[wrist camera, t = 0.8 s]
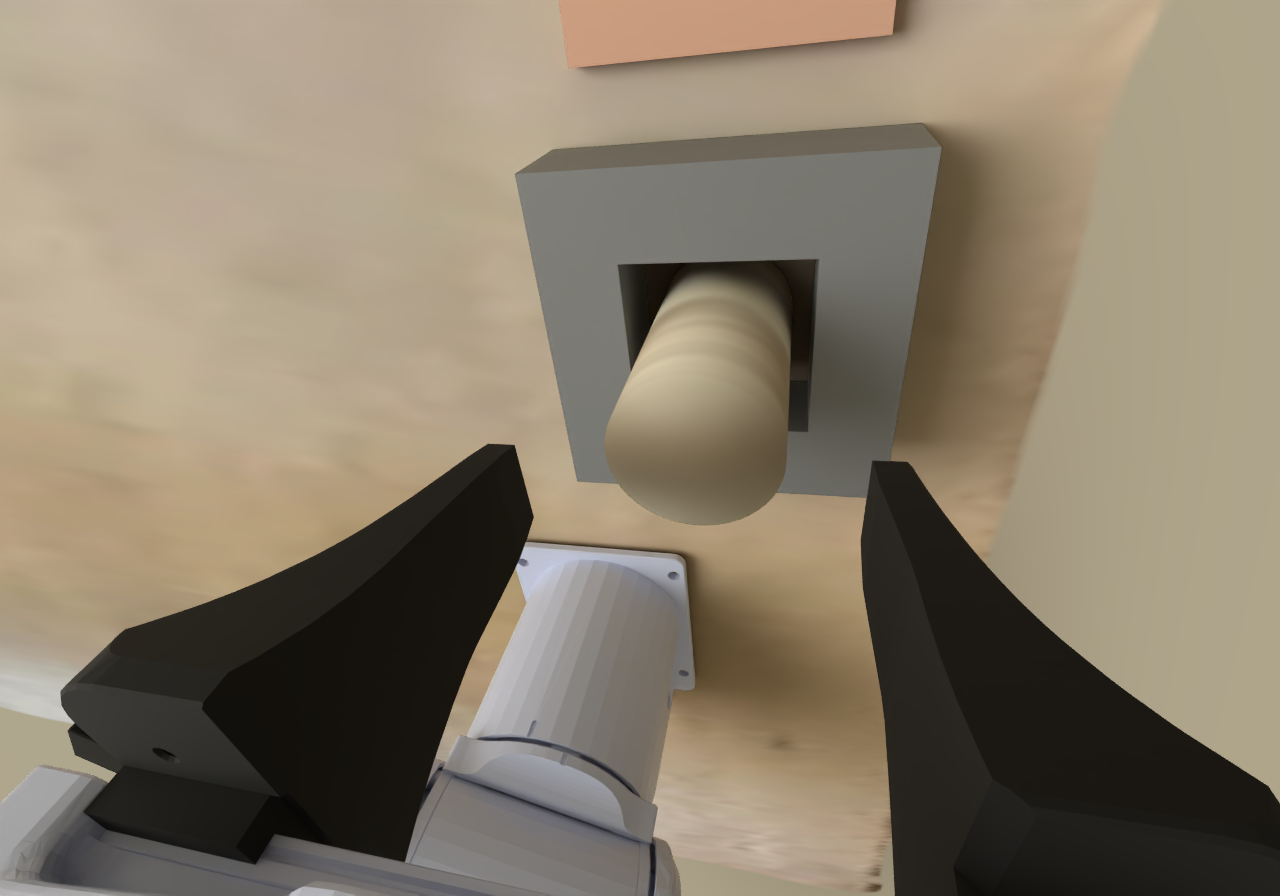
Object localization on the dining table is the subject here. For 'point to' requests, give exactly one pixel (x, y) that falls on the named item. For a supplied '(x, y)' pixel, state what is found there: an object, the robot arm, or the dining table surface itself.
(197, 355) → the dining table surface
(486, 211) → the dining table surface
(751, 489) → the peg
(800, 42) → the pad
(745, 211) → the pocket block
